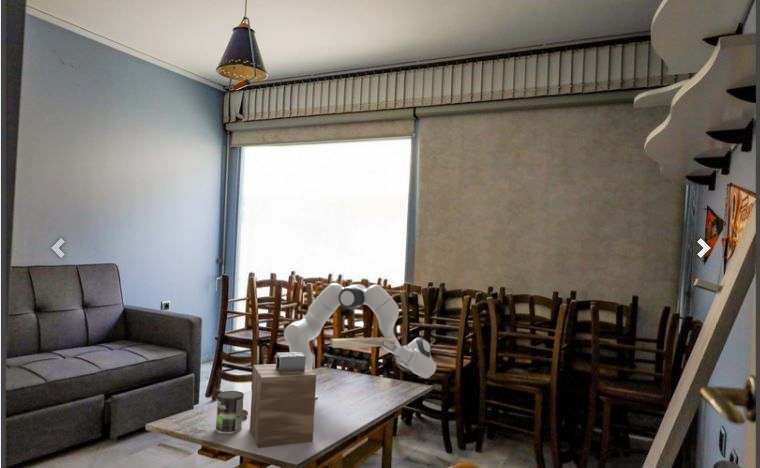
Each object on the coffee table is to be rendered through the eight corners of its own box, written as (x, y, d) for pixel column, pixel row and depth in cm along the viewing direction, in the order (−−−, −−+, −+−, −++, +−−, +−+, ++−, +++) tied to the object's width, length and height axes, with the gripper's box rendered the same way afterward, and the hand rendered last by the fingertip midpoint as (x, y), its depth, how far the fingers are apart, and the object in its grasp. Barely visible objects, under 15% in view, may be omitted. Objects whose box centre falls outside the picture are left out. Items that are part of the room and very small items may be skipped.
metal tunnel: (275, 367, 201) (276, 352, 201) (300, 366, 205) (300, 351, 205) (279, 372, 194) (280, 356, 194) (304, 371, 198) (305, 355, 198)
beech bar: (330, 345, 208) (330, 338, 208) (391, 343, 219) (391, 337, 219) (333, 347, 204) (333, 340, 204) (394, 345, 215) (395, 338, 215)
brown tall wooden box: (249, 429, 203) (253, 365, 203) (300, 424, 211) (303, 362, 212) (257, 448, 184) (261, 377, 185) (312, 442, 192) (316, 374, 193)
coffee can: (223, 436, 194) (225, 399, 194) (211, 428, 201) (213, 393, 202) (246, 430, 201) (248, 395, 202) (234, 423, 209) (236, 389, 209)
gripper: (398, 344, 230) (375, 330, 225) (419, 354, 211) (394, 338, 206) (392, 356, 228) (368, 342, 224) (412, 367, 209) (386, 352, 205)
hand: (381, 340), depth 215 cm, fingers closed on beech bar, 4 cm apart
